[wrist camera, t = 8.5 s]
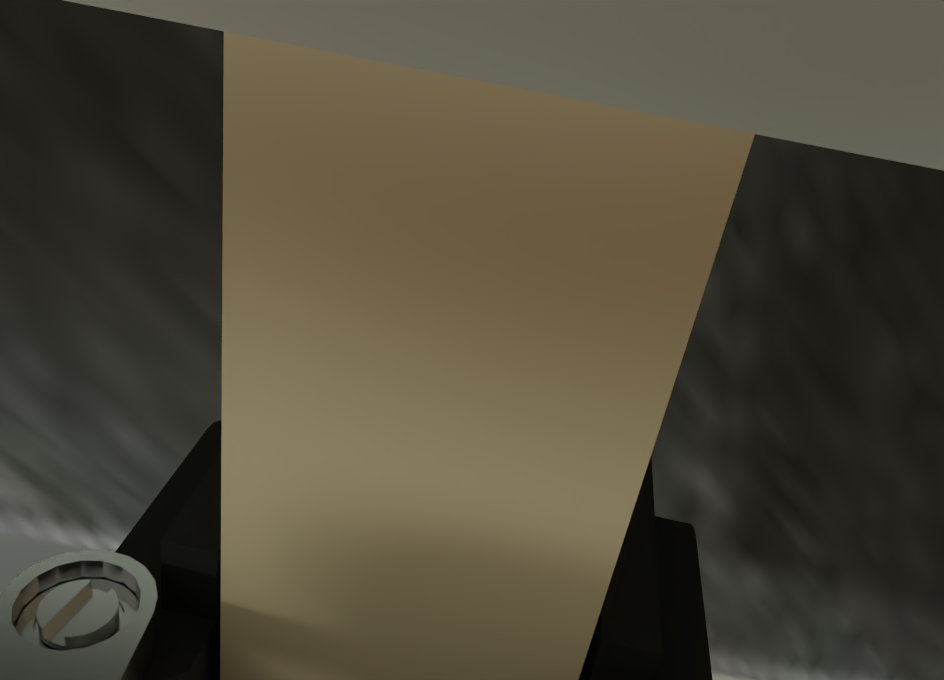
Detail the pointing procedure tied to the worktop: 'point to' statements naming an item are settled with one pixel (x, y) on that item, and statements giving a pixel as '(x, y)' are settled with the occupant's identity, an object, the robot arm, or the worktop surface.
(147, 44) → the worktop surface
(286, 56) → the light brown wooden block
